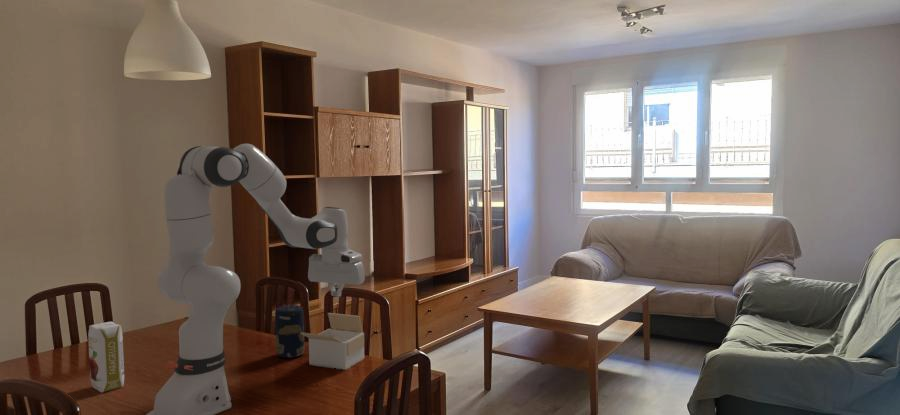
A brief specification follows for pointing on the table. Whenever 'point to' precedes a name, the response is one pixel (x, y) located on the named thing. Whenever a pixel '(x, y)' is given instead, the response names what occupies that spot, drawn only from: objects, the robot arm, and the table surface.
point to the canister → (289, 331)
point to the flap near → (321, 337)
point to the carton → (337, 349)
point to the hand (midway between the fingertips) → (336, 296)
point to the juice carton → (106, 356)
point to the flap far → (345, 322)
